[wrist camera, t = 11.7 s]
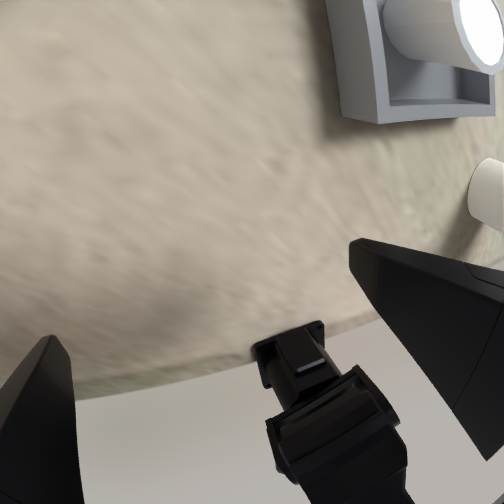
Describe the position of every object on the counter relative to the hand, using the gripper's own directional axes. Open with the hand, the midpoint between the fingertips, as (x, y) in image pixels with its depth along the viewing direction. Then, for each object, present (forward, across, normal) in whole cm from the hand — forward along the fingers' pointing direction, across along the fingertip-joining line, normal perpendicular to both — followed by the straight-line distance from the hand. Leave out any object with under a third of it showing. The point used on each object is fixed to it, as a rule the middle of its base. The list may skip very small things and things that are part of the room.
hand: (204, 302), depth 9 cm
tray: (+12, -19, -9) cm, 24 cm away
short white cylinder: (+11, -19, -9) cm, 24 cm away
